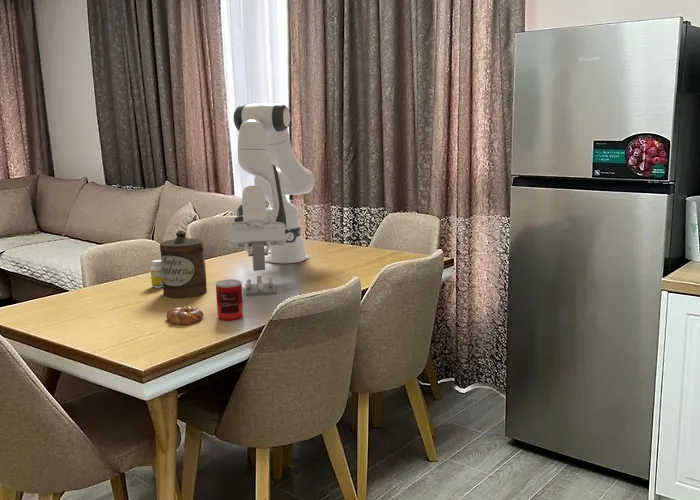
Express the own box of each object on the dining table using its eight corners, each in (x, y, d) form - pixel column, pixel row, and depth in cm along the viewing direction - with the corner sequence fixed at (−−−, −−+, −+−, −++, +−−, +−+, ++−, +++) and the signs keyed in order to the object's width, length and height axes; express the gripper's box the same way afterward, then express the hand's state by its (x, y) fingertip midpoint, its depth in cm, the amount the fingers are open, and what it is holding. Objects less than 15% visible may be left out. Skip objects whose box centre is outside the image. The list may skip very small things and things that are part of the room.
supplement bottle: (165, 288, 246) (163, 262, 244) (150, 288, 246) (148, 262, 244) (168, 284, 251) (166, 259, 249) (154, 285, 251) (152, 259, 249)
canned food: (233, 312, 213) (231, 278, 211) (248, 317, 207) (246, 282, 205) (212, 317, 208) (210, 282, 206) (227, 322, 202) (225, 286, 200)
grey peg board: (245, 286, 245) (244, 276, 244) (273, 285, 247) (272, 274, 246) (246, 295, 233) (245, 284, 232) (275, 294, 234) (275, 282, 233)
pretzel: (205, 324, 202) (204, 312, 201) (167, 328, 199) (166, 315, 198) (202, 313, 213) (201, 302, 213) (166, 317, 210) (165, 305, 210)
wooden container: (154, 296, 235) (149, 233, 230) (179, 286, 248) (175, 226, 244) (191, 299, 230) (187, 235, 225) (215, 289, 243) (211, 228, 239)
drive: (252, 266, 240) (251, 241, 239) (264, 266, 241) (263, 241, 240) (253, 270, 234) (252, 245, 232) (265, 270, 234) (264, 244, 233)
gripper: (284, 226, 248) (288, 258, 240) (227, 229, 245) (229, 261, 237) (285, 216, 243) (288, 248, 235) (226, 219, 239) (228, 251, 232)
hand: (258, 254), depth 236 cm, fingers closed on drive, 4 cm apart
